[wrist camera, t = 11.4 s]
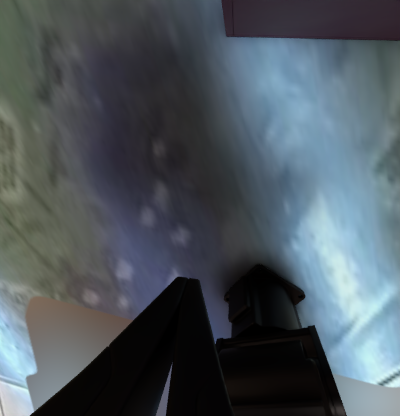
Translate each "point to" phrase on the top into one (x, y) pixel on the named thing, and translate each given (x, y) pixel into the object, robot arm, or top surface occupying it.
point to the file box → (313, 19)
